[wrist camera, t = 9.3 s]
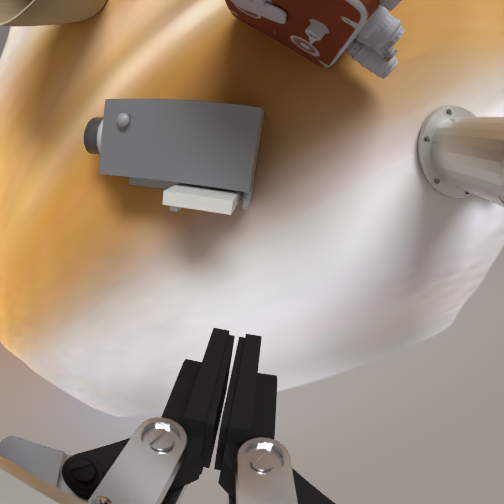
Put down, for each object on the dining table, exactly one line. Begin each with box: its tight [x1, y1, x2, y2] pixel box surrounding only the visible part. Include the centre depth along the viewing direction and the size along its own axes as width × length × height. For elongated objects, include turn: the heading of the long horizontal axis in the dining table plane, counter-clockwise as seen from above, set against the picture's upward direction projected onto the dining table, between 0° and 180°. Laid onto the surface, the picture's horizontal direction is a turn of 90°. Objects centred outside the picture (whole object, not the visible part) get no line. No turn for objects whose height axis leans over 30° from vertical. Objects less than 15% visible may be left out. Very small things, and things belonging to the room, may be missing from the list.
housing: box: [84, 99, 265, 210], centre depth 33 cm, size 21×11×7 cm, turn 81°
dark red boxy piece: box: [225, 0, 405, 79], centre depth 20 cm, size 9×19×20 cm, turn 56°
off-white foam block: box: [163, 183, 242, 215], centre depth 33 cm, size 7×2×8 cm, turn 81°
